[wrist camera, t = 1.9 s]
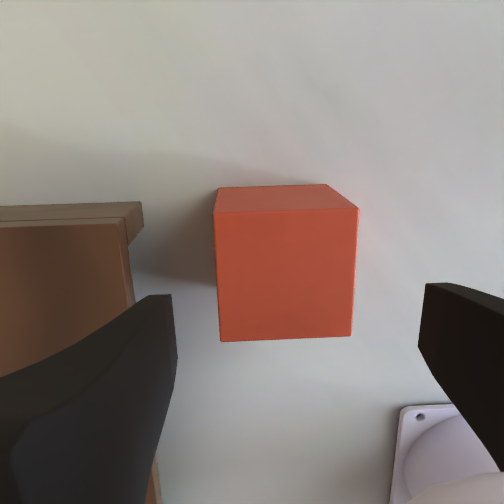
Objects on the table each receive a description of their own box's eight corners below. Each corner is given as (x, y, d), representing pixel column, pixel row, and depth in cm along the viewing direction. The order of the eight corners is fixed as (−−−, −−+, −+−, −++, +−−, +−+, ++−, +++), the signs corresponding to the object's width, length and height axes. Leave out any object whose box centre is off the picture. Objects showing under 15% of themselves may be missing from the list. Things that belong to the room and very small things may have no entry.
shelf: (141, 201, 18) (108, 231, 13) (179, 520, 25) (166, 616, 20) (-38, 207, 18) (-137, 240, 13) (48, 527, 24) (3, 627, 20)
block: (327, 183, 18) (360, 207, 13) (324, 284, 20) (351, 337, 15) (218, 187, 18) (212, 212, 13) (223, 288, 20) (220, 343, 15)
